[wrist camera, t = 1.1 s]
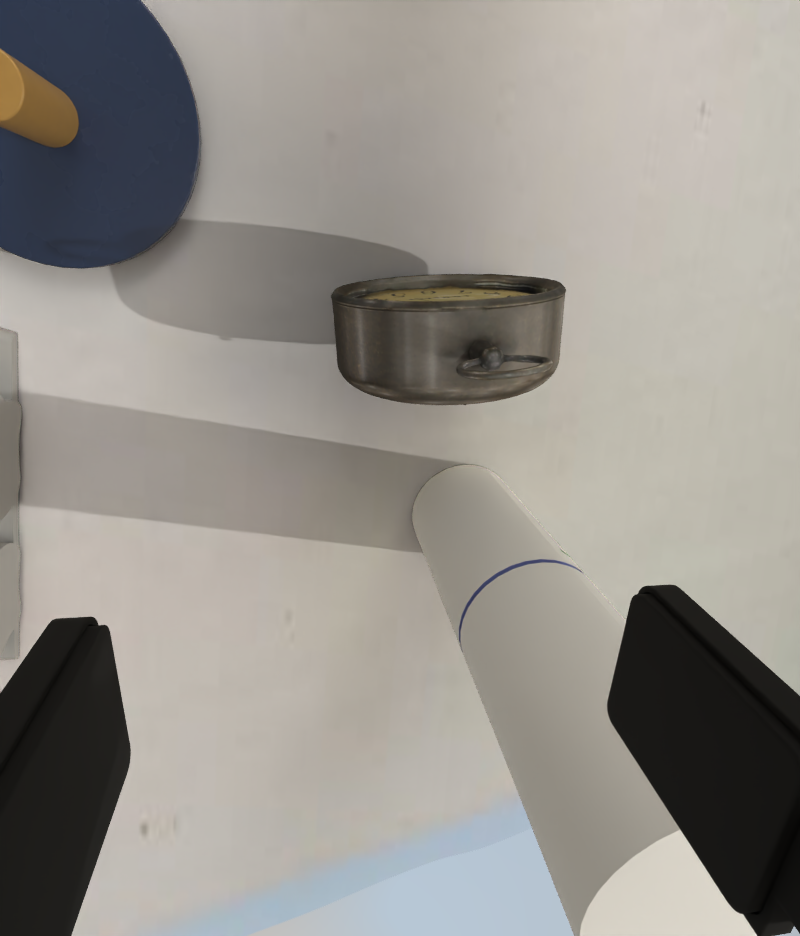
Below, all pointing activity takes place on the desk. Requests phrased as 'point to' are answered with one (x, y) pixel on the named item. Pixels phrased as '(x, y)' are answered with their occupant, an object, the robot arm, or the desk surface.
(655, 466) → the desk surface
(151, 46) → the tin lid
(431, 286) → the alarm clock
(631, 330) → the desk surface
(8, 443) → the grey metal bookend
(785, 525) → the desk surface
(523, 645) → the cylindrical container
